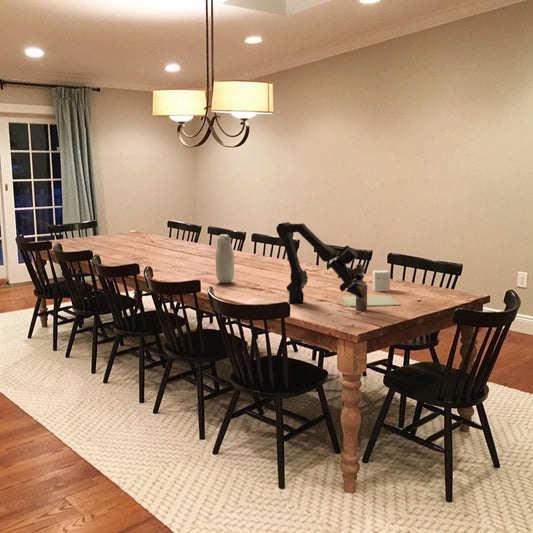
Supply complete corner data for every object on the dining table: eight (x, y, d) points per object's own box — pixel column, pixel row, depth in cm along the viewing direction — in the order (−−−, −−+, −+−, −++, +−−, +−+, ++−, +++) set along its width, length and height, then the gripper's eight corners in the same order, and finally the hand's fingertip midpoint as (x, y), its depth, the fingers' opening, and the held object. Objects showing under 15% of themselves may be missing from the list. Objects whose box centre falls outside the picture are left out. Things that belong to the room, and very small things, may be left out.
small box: (387, 289, 293) (387, 270, 292) (389, 291, 288) (390, 272, 286) (372, 289, 293) (372, 270, 291) (374, 292, 288) (375, 272, 286)
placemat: (349, 306, 257) (349, 305, 257) (341, 298, 275) (341, 296, 275) (399, 305, 259) (399, 304, 259) (388, 296, 277) (388, 295, 277)
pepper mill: (357, 311, 249) (357, 281, 247) (354, 308, 254) (355, 278, 252) (368, 311, 249) (368, 280, 247) (365, 308, 254) (365, 278, 252)
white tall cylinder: (237, 282, 316) (236, 233, 311) (226, 285, 308) (225, 235, 303) (224, 280, 322) (222, 232, 317) (212, 283, 314) (211, 234, 309)
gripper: (346, 262, 241) (370, 289, 238) (360, 256, 258) (383, 281, 254) (329, 278, 247) (352, 304, 243) (344, 271, 263) (366, 296, 259)
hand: (364, 296), depth 250 cm, fingers closed on pepper mill, 5 cm apart
